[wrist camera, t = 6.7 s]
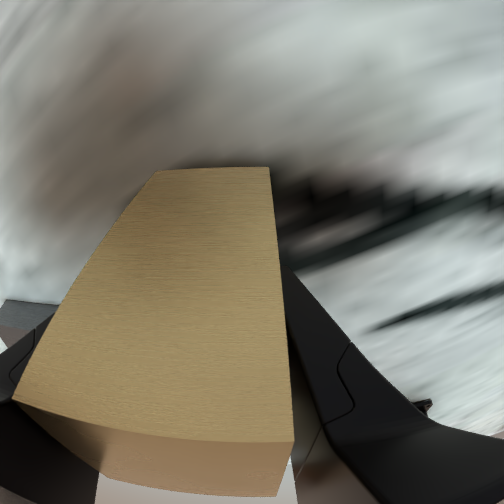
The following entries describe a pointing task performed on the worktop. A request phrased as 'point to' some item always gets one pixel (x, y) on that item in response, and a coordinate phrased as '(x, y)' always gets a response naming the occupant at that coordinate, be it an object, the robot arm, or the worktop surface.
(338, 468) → the robot arm
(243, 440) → the brass peg
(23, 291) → the worktop surface
